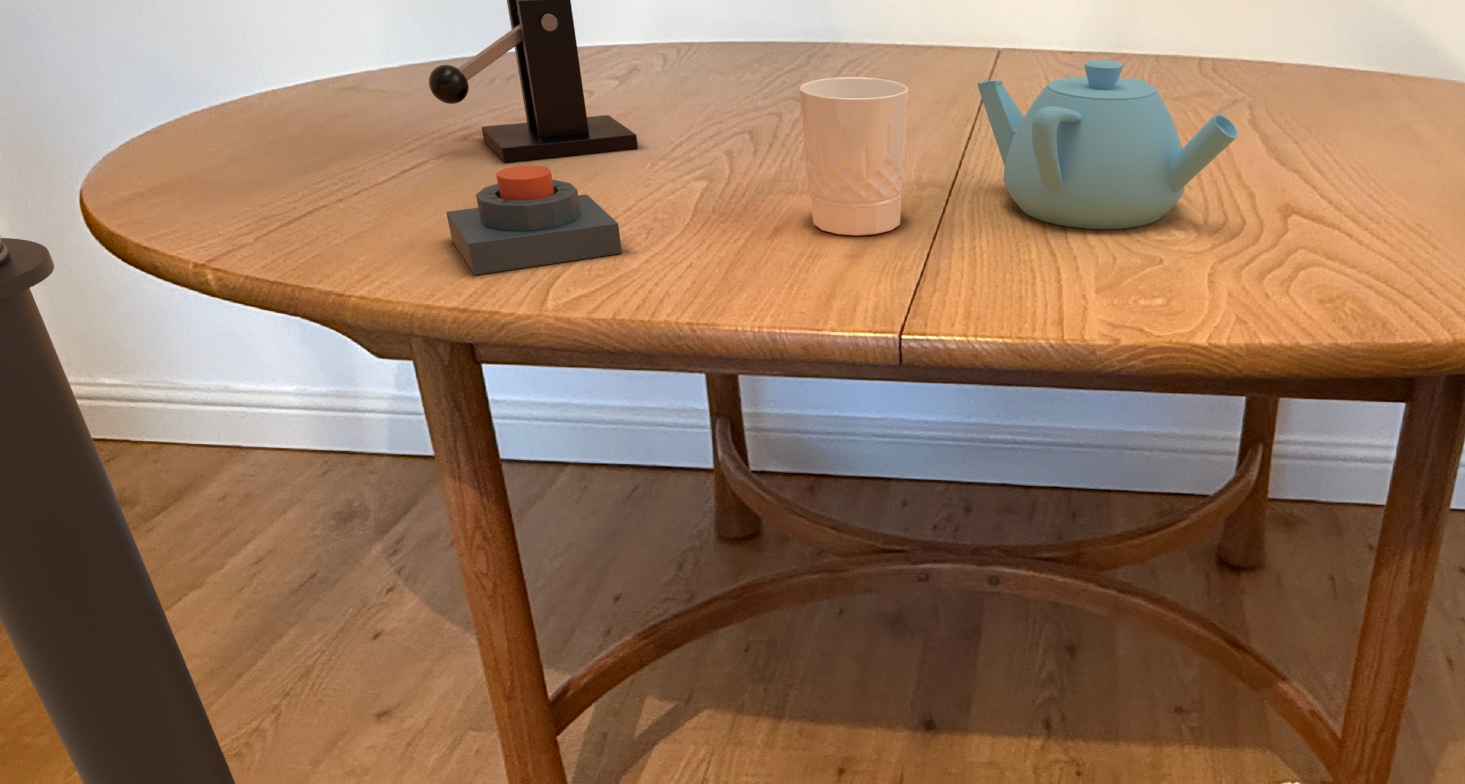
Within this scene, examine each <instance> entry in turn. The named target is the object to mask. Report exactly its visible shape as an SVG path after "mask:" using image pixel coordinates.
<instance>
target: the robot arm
mask: <svg viewBox="0 0 1465 784" xmlns="http://www.w3.org/2000/svg"><path fill="white" fill-rule="evenodd" d="M1 238H2V237H1V236H0V267H1V266H3V265H4V264H6V263H7V262H8V261H9V259H10V254H9V252H8V249H7V247H6V245H5V244H4V243H3V242H2V240H1Z"/></svg>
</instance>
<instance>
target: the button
mask: <svg viewBox="0 0 1465 784" xmlns="http://www.w3.org/2000/svg"><path fill="white" fill-rule="evenodd" d="M495 176H496V182H497V184H498V187H499V193H500V198H502V199H506V200H533V199H541V198H545V197H549V196H552V195H555V193H554V187H553V180H554V179H553V174H552V171H551V169H550V168H548V167H545V166H541V165H515V166H510V167H506V168H502V169H500V170H499V171H497V172H496V174H495Z"/></svg>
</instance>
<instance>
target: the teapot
mask: <svg viewBox="0 0 1465 784" xmlns="http://www.w3.org/2000/svg"><path fill="white" fill-rule="evenodd" d="M1123 67H1124V65H1123V64H1122V63H1120V62H1118V61H1115V60H1109V59H1094V60H1089V61H1086V62H1084V70H1085V75H1086V76H1072V77H1071V76H1070V77H1063V78H1058V79H1055V80H1052V81H1050V82H1049V83H1047V84H1046V85H1045V87H1044V88H1043V89H1042V90H1041V91H1040V92H1039V94H1038V95H1037V97H1036V98H1035V99H1034V101H1033V103H1032V104H1031V106H1030V107H1029V108H1028V110H1027V112H1026V113H1025V114H1024V115H1023V113H1022V112H1021V111H1020V109H1019V107H1018V106H1017V104H1016V103H1015V101H1014V100H1013V98H1012V97H1011V95H1010V94H1009V92H1008V90H1007V89H1006V87H1005V86H1004V84H1003V80H982V81H980V82H977V88H978V92H979V95H980V97H981V100H982V103H983V106H984V109H985V112H986V114H987V118H988V121H989V124H990V127H991V130H992V133H993V136H994V140H995V142H996V145H997V148H998V151H999V154H1000V157H1001V160H1002V163H1003V166H1004V168H1003V183H1004V187H1005V189H1006V191H1007V193H1008V194H1009V195H1010V197H1011V198H1012V200H1013V201H1014V203H1015V204H1016V206H1018V207H1019V209H1020V210H1021V211H1022V212H1023V213H1024V214H1026V215H1027V216H1030V217H1031V218H1034V219H1036V220H1039V221H1042V222H1045V223H1049V224H1054V225H1058V226H1063V227H1069V228H1078V229H1088V230H1118V229H1119V230H1121V229H1131V228H1138V227H1142V226H1146V225H1150V224H1152V223H1155V222H1157V221H1159V220H1160V219H1162V217H1164V216H1165V214H1168V212H1169V211H1170V210H1171V209H1172V208H1173V207H1174V206H1175V205H1176V204H1177V203H1178V202H1179V200H1180V199H1181V198H1182V196H1183V194H1184V192H1185V188H1186V187H1185V186H1186V185H1187V184H1188V183H1190V182H1191V181H1192V180H1193V179H1194V178H1195V177H1196V176H1197V175H1199V173H1201V171H1203V170H1204V169H1205V168H1206V167H1207V166H1208V165H1209V164H1210V163H1211V162H1213V160H1215V158H1217V157H1218V156H1219V155H1220V154H1221V153H1222V152H1223V151H1224V150H1225V149H1226V148H1227V147H1228V146H1229V145H1231V144H1232V143H1233V142H1234V141H1235V140H1236V139H1237V138H1238V137H1239V131H1238V128H1237V127H1236V125H1235V124H1234V122H1233V121H1231V119H1230V118H1228V117H1227V116H1226V115H1224V114H1221V113H1215V114H1214V115H1213V116H1212V117H1211V118H1210V119H1209V120H1208V121H1207V122H1206V123H1204V125H1203V126H1202V127H1201V128H1200V129H1199V131H1197V133H1196V134H1195V135H1193V137H1192V138H1191V139H1190V140H1189V141H1188V142H1187V143H1186V144H1185V145H1184V146H1183V147H1182V142H1181V138H1180V135H1179V132H1178V129H1177V127H1176V125H1175V122H1174V120H1173V118H1172V116H1171V114H1170V111H1169V109H1168V107H1167V105H1166V103H1165V101H1164V100H1163V98H1162V96H1161V93H1160V92H1159V91H1158V90H1157V88H1155V86H1153V85H1151V84H1149V82H1147V81H1146V80H1144V79H1141V78H1137V77H1131V78H1120V75H1121V73H1122V71H1123Z"/></svg>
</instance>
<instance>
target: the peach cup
mask: <svg viewBox="0 0 1465 784" xmlns="http://www.w3.org/2000/svg"><path fill="white" fill-rule="evenodd" d="M799 98H800V106H801V107H800V108H801V119H802V131H803V143H804V145H803V146H804V154H805V165H806V173H807V183H808V184H807V185H808V187H809V189H810V199H811V212H812V223H813V225H814V226H815V227H817V228H818V229H819V230H821V231H823V232H827V233H832V234H836V235H845V236H868V235H870V236H871V235H878V234H881V233H887V232H890V231H892V230H894V229H896V228H897V227H898V226H900V224H901V215H902V214H901V212H902V210H901V209H902V196H903V195H902V191H903V188H904V183H905V182H904V177H905V171H906V160H905V157H906V151H907V134H908V133H907V132H908V129H907V128H908V111H909V110H908V108H909V107H908V106H909V87H908V86H907V85H906V84H904V83H902V82H899V81H895V80H891V79H885V78H878V77H877V78H876V77H863V76H842V77H841V76H840V77H827V78H820V79H814V80H810V81H807V82H804V83H803V84H801V85H800V86H799Z"/></svg>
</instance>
